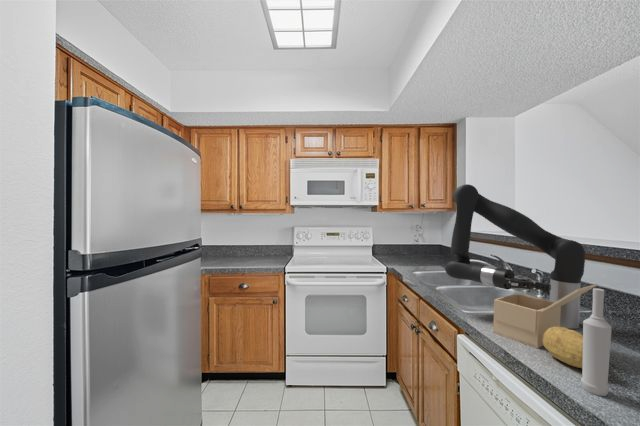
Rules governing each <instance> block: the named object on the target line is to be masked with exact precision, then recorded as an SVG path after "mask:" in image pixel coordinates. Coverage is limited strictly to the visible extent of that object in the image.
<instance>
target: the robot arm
mask: <svg viewBox="0 0 640 426" xmlns="http://www.w3.org/2000/svg"><path fill="white" fill-rule="evenodd" d="M452 198H453V201H454V203H455V205H456V209H455V210H456V212H455V213H456V215H455V222H454V226H453V231H452V237H451V243H450V252H451V254H453V255H454V257H455V258H454V259H455V260H451V261H448V262H447V263H446V264H445V266H444V270H445V273H446V274H447V275H448V276H449V277H451V278H453V279H458V280H465V281H473V282H475V283H481V284H485V285H487V286H491V287H494V288H498V289H502V290H511V289H520V290H521V289H523V290H539V291H544V292H549V301H552V302H556V301H558V300H560V299H562V298H563V297H565V296H567V295H568V294H570V293H572V292H573V291H575V290H577V289H580V288H582V287H581V286H582V285H581V284H582V278H583V276H584V273H585V266H586V265H585V263H586V251H585V248H584V247H583V246H584V245H582V244H581V243H580V242H578V241H575V240H573V239H568V238H567V239H566V238H563V237H561V236H558V235H556V234H554V233H551V232H549V231H547V230H545V229H544V228H542V227H541V226H540V225H539V224H537V223H536V222H535V221H534V220H532V219H531V218H530V217H529V216H527V215H525V214H524V213H522V212H519V211H518V210H516V209H513V208H511V207H509V206H507V205H504V204H501V203H498V202H496V201H493V200H490V199H489V198H487V197H485V196H483V195H481V193H479V191H478V189H477V188H476V187H475V186H474V185H472V184H467V183H466V184H462V185H460V186H458V187H457V188H456V189H454V191H453V193H452ZM474 213H476V214H478V215H479V216H481V217H483V218H484V219H485V220H487V221H488V222H490V223H491V224H492V225H494V226H496V227H498V228H499V229H501V230H502V231H504V232H506V233H508V234H510V235H512V236H513V237H516V238H517V239H519V240H521V241H523V242H526V243H529V244H531V245H533V246H535V247H537V248H538V249H539V250H541V251H542V252H544V253H545V254H546V255H548V256H549V257H550V258H552V259H554V268H553V270H552V271H551V272H550V280H549V281H550V283H545V282H541V281H540V280H539V279H536V278H533V277H531V276H523V275H519V274H518V275H515V273H514V271H513V270H512V269H509V268H504V267H498V266H492V265H483V264H479V263H478V264H476V263H474V264H473V263H471V258H470V253H469V252H470V251H469V250H470V242H471V232H472V223H473V222H472V221H473V217H474ZM580 311H581V295H580V296H578V297H576V298H574V299H573V300H571V301H569V302H568V303H566V304H564V305H562V306H561V311H560V327H564V328H567V329H570V330H574V329H576V330H577V329H579V328H580V316H581V315H580Z"/></svg>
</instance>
